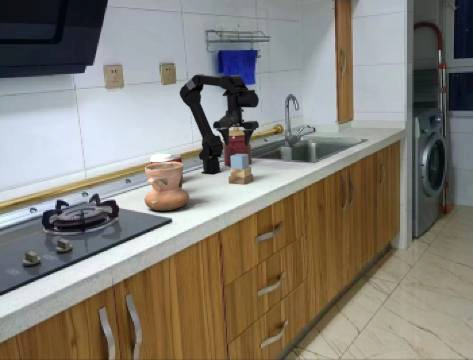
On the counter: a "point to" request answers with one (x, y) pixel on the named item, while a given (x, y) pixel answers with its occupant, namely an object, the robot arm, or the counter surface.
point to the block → (239, 161)
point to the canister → (236, 146)
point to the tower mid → (241, 172)
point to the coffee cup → (161, 158)
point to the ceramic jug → (165, 186)
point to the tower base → (240, 180)
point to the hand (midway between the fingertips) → (236, 146)
